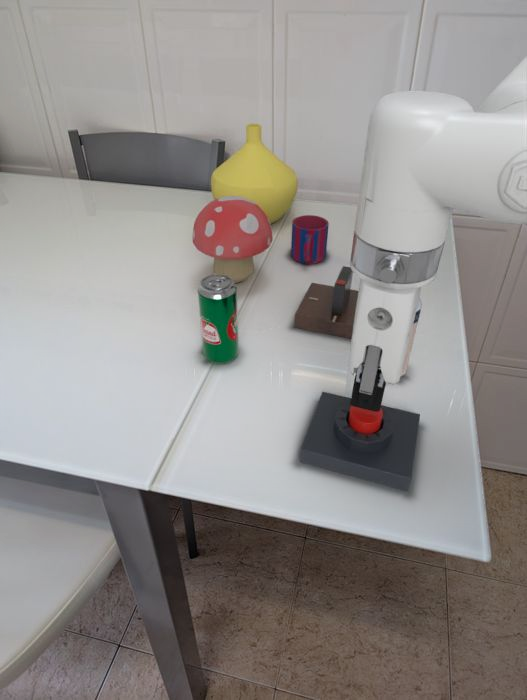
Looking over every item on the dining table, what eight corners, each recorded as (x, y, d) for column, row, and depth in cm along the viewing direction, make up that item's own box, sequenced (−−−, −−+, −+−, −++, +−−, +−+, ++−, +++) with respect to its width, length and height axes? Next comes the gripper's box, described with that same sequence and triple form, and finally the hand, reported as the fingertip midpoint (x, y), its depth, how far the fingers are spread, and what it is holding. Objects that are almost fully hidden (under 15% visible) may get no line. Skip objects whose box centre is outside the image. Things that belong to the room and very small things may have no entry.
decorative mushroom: (262, 259, 94) (263, 181, 85) (280, 296, 84) (282, 211, 74) (192, 267, 92) (184, 186, 82) (201, 305, 81) (193, 219, 72)
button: (382, 415, 57) (385, 404, 56) (377, 437, 54) (380, 426, 53) (351, 408, 58) (353, 397, 57) (345, 429, 55) (347, 418, 54)
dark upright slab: (339, 293, 80) (343, 264, 76) (349, 295, 79) (353, 266, 76) (331, 313, 75) (334, 283, 72) (341, 315, 75) (345, 285, 72)
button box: (416, 426, 60) (423, 403, 58) (407, 491, 53) (414, 467, 51) (321, 403, 64) (323, 380, 61) (299, 462, 56) (301, 438, 54)
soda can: (197, 352, 72) (189, 280, 64) (226, 339, 74) (222, 268, 67) (216, 370, 69) (210, 296, 61) (245, 356, 71) (244, 284, 64)
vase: (195, 223, 107) (187, 129, 95) (242, 196, 119) (240, 110, 107) (268, 243, 99) (269, 144, 88) (310, 212, 112) (316, 121, 100)
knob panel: (381, 307, 81) (384, 293, 79) (371, 343, 74) (374, 328, 72) (310, 294, 84) (311, 281, 83) (293, 327, 77) (294, 313, 75)
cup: (328, 250, 97) (331, 217, 93) (319, 274, 90) (322, 240, 85) (294, 246, 99) (296, 213, 94) (283, 269, 91) (284, 235, 87)
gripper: (433, 305, 36) (391, 464, 48) (444, 225, 48) (408, 370, 59) (333, 287, 38) (315, 444, 50) (367, 214, 49) (346, 356, 61)
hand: (365, 403), depth 54 cm, fingers closed
